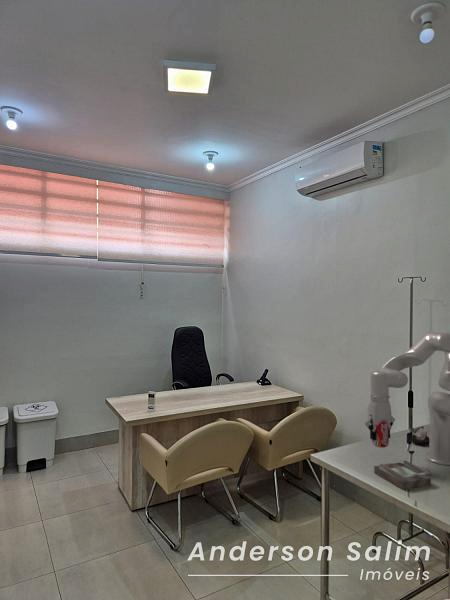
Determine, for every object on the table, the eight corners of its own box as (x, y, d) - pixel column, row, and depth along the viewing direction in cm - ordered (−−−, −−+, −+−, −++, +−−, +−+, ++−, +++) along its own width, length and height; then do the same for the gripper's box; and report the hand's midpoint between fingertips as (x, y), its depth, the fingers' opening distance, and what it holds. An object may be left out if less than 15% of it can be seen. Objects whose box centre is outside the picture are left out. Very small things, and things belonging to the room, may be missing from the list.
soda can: (378, 449, 172) (378, 422, 172) (368, 443, 179) (368, 417, 179) (392, 447, 174) (392, 420, 174) (381, 442, 181) (381, 416, 181)
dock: (400, 469, 171) (400, 457, 171) (430, 485, 156) (431, 473, 156) (374, 473, 166) (374, 461, 167) (403, 490, 151) (403, 477, 152)
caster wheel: (420, 452, 201) (406, 442, 210) (438, 445, 204) (423, 436, 213) (420, 440, 199) (405, 431, 209) (437, 434, 202) (422, 425, 212)
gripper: (388, 395, 183) (389, 433, 183) (358, 398, 177) (358, 438, 177) (401, 398, 176) (401, 438, 176) (369, 402, 170) (370, 443, 170)
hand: (380, 438), depth 176 cm, fingers closed on soda can, 7 cm apart
